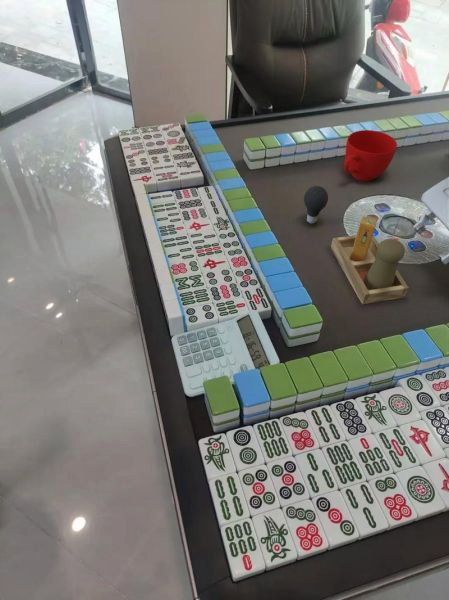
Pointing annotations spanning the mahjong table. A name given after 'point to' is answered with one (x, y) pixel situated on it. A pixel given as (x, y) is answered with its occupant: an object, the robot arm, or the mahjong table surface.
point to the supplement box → (363, 238)
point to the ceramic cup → (368, 154)
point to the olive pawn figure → (384, 265)
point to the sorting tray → (365, 271)
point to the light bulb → (315, 202)
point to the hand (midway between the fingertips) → (428, 245)
